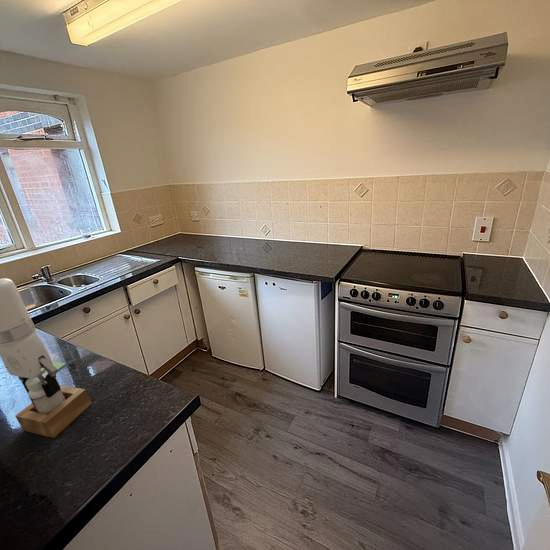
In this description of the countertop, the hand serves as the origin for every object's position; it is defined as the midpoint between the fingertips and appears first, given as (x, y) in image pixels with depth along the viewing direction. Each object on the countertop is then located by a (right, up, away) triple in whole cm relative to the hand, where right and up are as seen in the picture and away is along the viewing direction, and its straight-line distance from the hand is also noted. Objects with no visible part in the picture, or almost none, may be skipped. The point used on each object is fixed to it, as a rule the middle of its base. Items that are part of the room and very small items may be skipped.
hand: (44, 391), depth 76 cm
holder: (+2, -8, +3) cm, 9 cm away
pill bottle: (+1, -7, +3) cm, 7 cm away
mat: (-18, -3, +23) cm, 30 cm away
